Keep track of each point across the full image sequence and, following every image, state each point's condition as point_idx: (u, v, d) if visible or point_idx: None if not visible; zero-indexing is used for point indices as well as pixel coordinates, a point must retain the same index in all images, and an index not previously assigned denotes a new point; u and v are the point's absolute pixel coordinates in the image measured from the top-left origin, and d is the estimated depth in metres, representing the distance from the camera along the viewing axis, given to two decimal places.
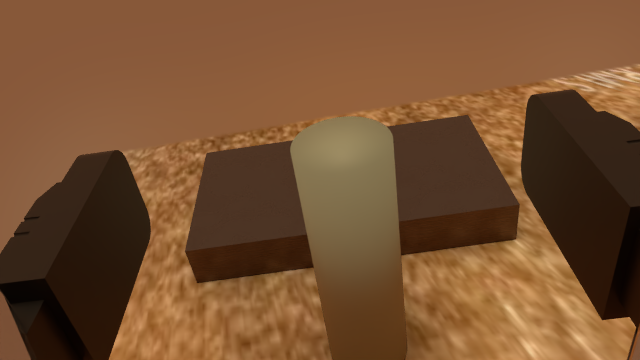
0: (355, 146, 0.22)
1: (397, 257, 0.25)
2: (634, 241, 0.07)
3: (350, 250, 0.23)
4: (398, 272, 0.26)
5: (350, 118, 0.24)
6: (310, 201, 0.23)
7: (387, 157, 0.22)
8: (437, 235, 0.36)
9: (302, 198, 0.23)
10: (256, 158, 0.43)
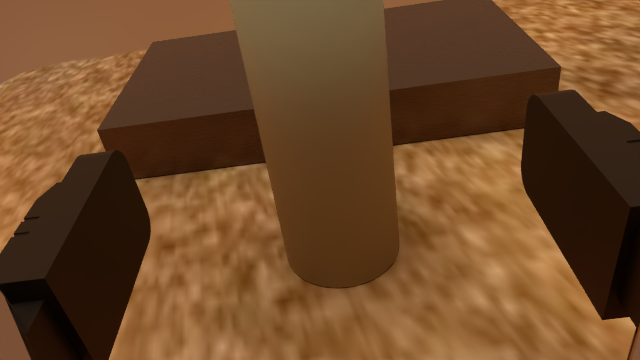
0: None
1: (380, 62, 0.16)
2: (634, 241, 0.07)
3: (297, 21, 0.14)
4: (382, 93, 0.16)
5: None
6: None
7: None
8: (445, 114, 0.26)
9: None
10: (212, 43, 0.34)
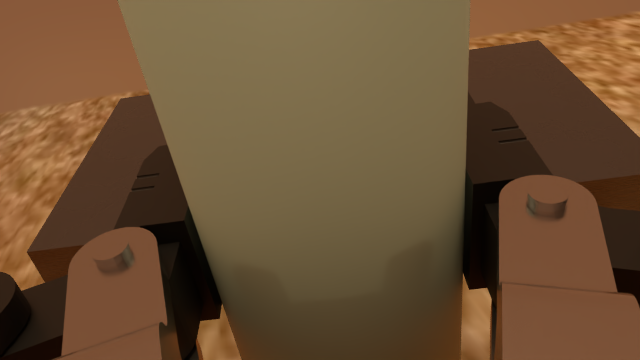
0: None
1: (458, 274, 0.09)
2: (482, 216, 0.08)
3: (308, 249, 0.07)
4: (457, 316, 0.09)
5: None
6: (152, 58, 0.06)
7: None
8: None
9: (139, 60, 0.07)
10: None
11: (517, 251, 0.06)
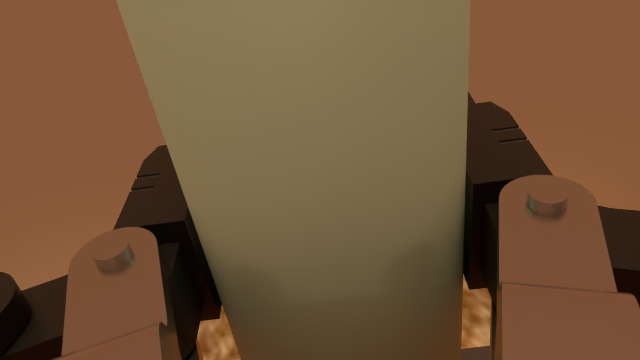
0: None
1: (458, 275, 0.09)
2: (482, 216, 0.08)
3: (308, 250, 0.07)
4: (457, 317, 0.09)
5: None
6: (150, 59, 0.06)
7: None
8: None
9: (138, 61, 0.07)
10: None
11: (517, 251, 0.06)
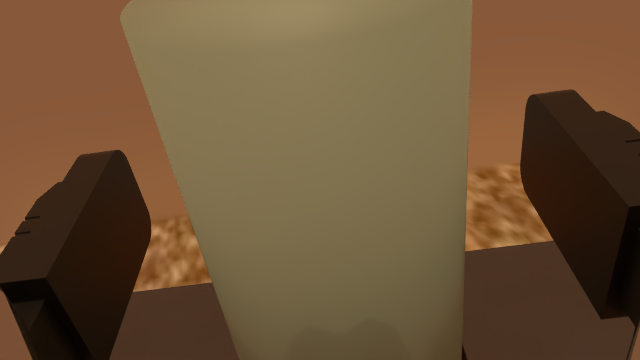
0: None
1: (458, 340, 0.09)
2: (633, 241, 0.07)
3: (324, 335, 0.07)
4: None
5: None
6: (187, 176, 0.07)
7: (457, 6, 0.06)
8: None
9: (172, 167, 0.07)
10: (139, 336, 0.17)
11: None
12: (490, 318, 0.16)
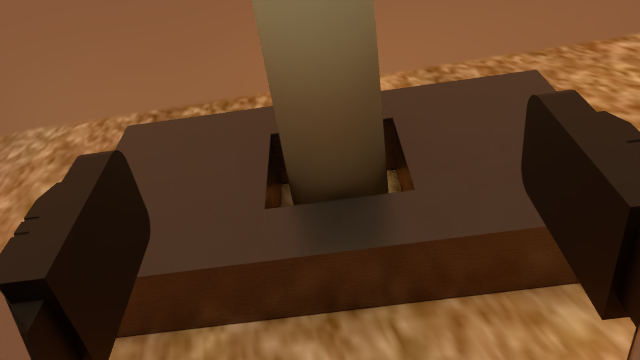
0: None
1: (372, 59, 0.20)
2: (634, 241, 0.07)
3: (308, 27, 0.18)
4: (374, 84, 0.20)
5: None
6: None
7: None
8: (505, 266, 0.19)
9: None
10: (200, 133, 0.27)
11: None
12: (412, 113, 0.26)
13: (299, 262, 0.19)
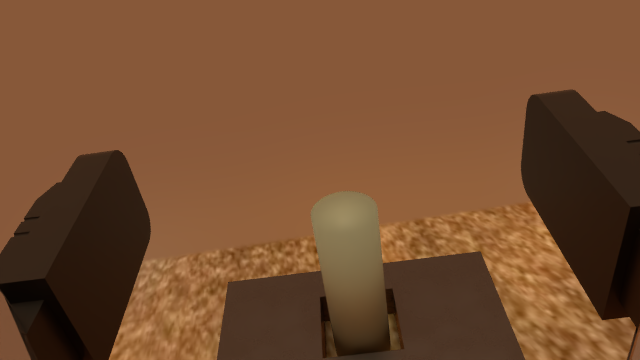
0: (353, 214, 0.35)
1: (381, 285, 0.38)
2: (634, 241, 0.07)
3: (349, 281, 0.36)
4: (382, 295, 0.38)
5: (350, 192, 0.37)
6: (323, 249, 0.35)
7: (372, 222, 0.34)
8: None
9: (318, 246, 0.36)
10: (276, 293, 0.45)
11: None
12: (404, 285, 0.44)
13: None
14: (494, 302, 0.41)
